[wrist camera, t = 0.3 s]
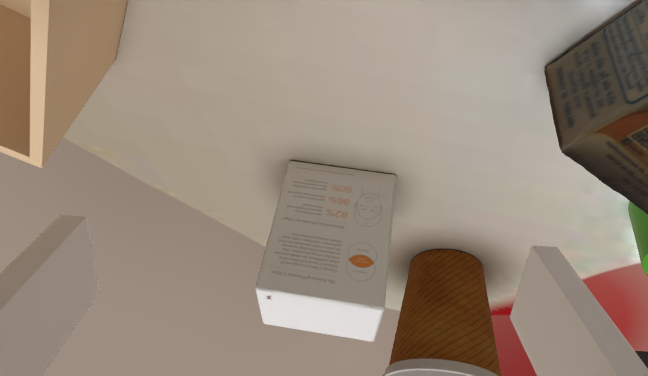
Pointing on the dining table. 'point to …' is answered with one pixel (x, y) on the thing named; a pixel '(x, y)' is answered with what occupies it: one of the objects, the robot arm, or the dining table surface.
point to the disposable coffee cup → (444, 319)
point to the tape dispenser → (640, 232)
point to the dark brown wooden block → (607, 104)
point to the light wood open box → (51, 68)
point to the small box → (328, 251)
